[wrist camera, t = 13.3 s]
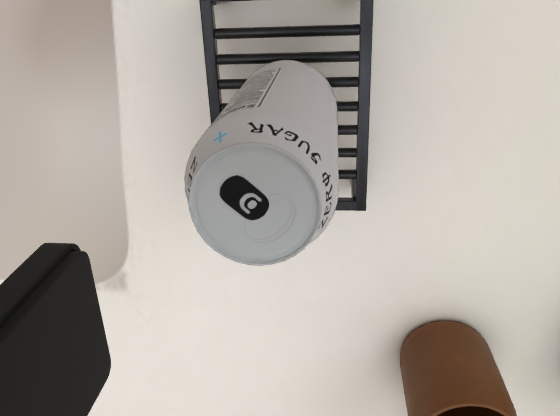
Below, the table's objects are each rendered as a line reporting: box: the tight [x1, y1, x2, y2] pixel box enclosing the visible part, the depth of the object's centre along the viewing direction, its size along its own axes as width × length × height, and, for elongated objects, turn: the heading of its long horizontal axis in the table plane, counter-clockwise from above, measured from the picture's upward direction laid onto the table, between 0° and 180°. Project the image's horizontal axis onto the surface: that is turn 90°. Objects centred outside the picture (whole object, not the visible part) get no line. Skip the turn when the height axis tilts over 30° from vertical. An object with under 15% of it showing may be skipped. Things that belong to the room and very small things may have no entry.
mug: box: [400, 321, 517, 416], centre depth 41 cm, size 12×8×9 cm, turn 173°
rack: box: [199, 0, 373, 211], centre depth 34 cm, size 14×10×5 cm
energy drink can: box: [185, 60, 339, 266], centre depth 25 cm, size 6×6×15 cm
